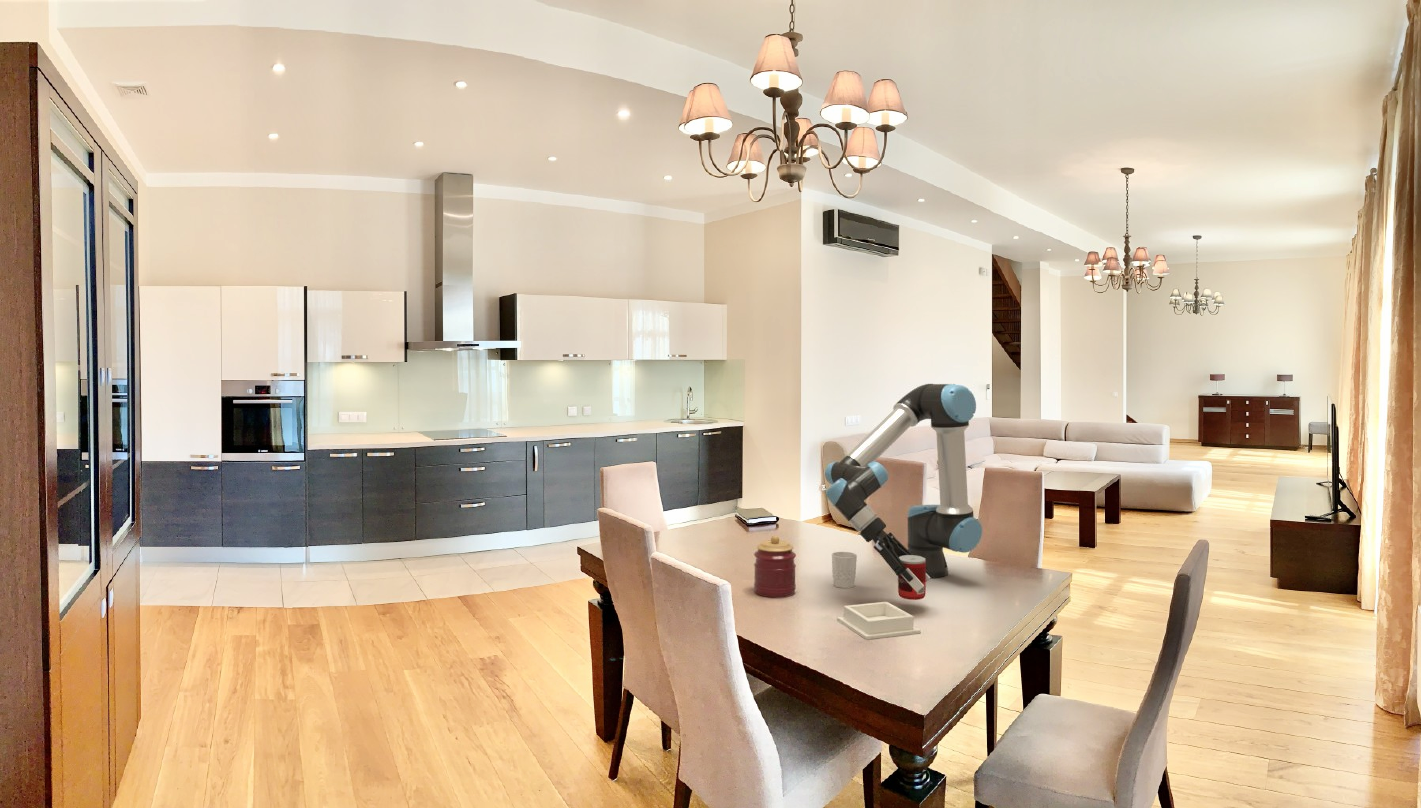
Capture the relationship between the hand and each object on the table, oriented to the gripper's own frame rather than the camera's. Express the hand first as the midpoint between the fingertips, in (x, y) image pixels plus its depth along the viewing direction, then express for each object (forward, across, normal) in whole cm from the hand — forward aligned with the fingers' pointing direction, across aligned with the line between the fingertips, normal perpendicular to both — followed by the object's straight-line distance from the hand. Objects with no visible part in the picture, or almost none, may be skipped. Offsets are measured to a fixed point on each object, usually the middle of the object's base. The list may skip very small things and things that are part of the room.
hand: (923, 584), depth 218 cm
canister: (-27, +2, -37) cm, 46 cm away
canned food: (0, 0, -5) cm, 5 cm away
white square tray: (-1, +19, -11) cm, 22 cm away
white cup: (-14, -15, -25) cm, 33 cm away
